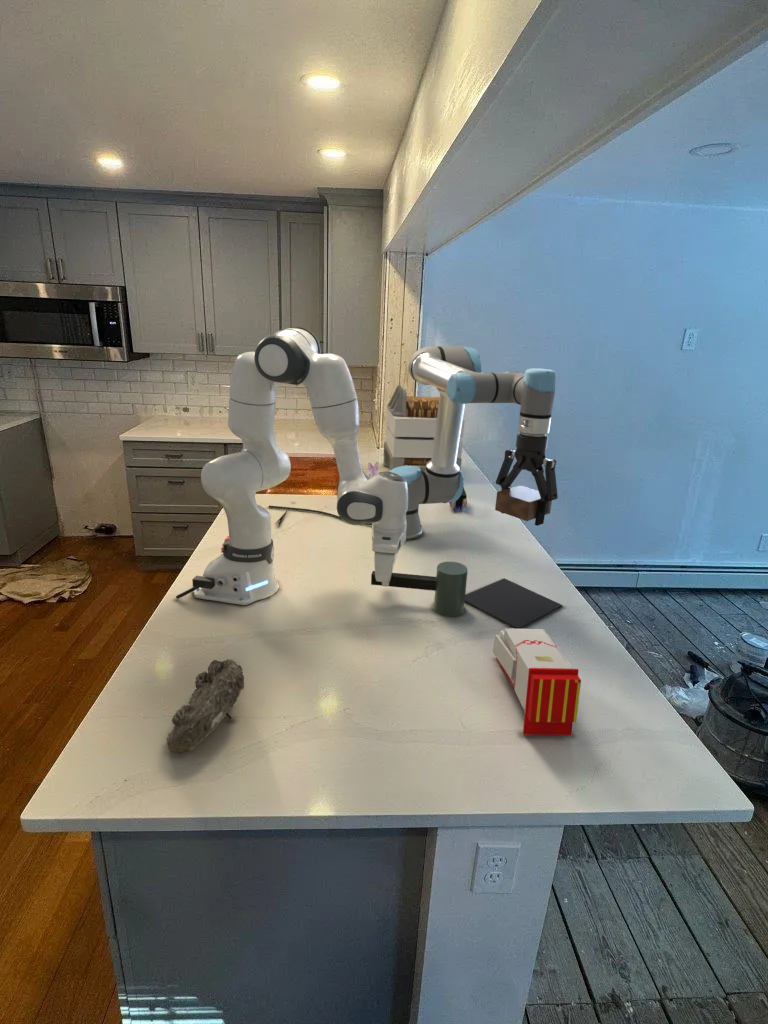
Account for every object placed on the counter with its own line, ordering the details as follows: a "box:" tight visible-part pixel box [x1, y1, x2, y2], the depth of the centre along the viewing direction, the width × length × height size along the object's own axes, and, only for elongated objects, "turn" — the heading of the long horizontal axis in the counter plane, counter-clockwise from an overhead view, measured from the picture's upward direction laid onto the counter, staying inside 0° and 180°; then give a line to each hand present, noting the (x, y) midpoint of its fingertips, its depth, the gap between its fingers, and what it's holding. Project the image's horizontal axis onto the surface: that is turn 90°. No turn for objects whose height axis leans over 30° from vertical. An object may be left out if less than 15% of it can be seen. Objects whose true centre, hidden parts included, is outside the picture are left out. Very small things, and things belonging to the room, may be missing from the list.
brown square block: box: [494, 485, 553, 522], centre depth 146 cm, size 10×10×5 cm
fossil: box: [166, 658, 245, 754], centre depth 106 cm, size 22×10×15 cm
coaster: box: [464, 578, 563, 629], centre depth 156 cm, size 20×20×1 cm
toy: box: [492, 627, 582, 736], centre depth 118 cm, size 12×13×30 cm
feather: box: [274, 510, 288, 528], centre depth 213 cm, size 2×28×2 cm
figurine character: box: [448, 486, 468, 512], centre depth 228 cm, size 7×8×15 cm
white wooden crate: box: [383, 384, 465, 472], centre depth 268 cm, size 34×33×41 cm
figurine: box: [366, 461, 380, 479], centre depth 234 cm, size 9×10×15 cm
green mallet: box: [370, 561, 469, 617], centre depth 150 cm, size 25×8×12 cm, turn 83°
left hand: (386, 582), depth 151 cm, fingers closed on green mallet, 2 cm apart
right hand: (521, 518), depth 147 cm, fingers closed on brown square block, 10 cm apart
